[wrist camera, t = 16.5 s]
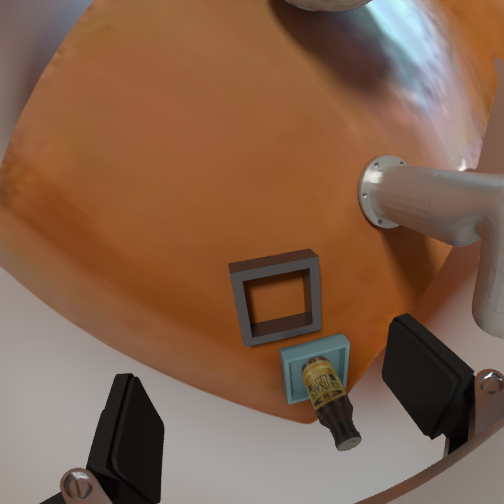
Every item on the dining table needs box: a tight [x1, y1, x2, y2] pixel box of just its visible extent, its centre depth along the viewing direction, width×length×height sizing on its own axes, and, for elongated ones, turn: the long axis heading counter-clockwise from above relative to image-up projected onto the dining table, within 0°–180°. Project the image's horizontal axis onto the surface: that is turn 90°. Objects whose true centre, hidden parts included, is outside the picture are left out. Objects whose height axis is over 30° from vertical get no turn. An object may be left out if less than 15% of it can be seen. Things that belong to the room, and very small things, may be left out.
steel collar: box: [228, 249, 321, 347], centre depth 44 cm, size 13×13×4 cm
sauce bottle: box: [301, 356, 362, 451], centre depth 42 cm, size 6×6×20 cm
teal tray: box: [279, 333, 350, 405], centre depth 50 cm, size 13×13×4 cm
